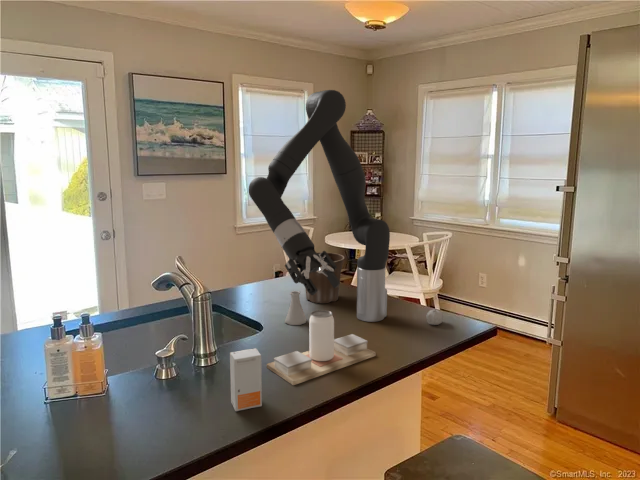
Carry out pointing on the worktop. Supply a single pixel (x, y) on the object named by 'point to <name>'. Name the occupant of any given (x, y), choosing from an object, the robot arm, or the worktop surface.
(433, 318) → the garlic
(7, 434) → the worktop surface
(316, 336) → the can
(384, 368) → the worktop surface
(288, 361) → the tray with two blocks
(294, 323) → the flask
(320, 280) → the plant pot
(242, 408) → the skincare box
